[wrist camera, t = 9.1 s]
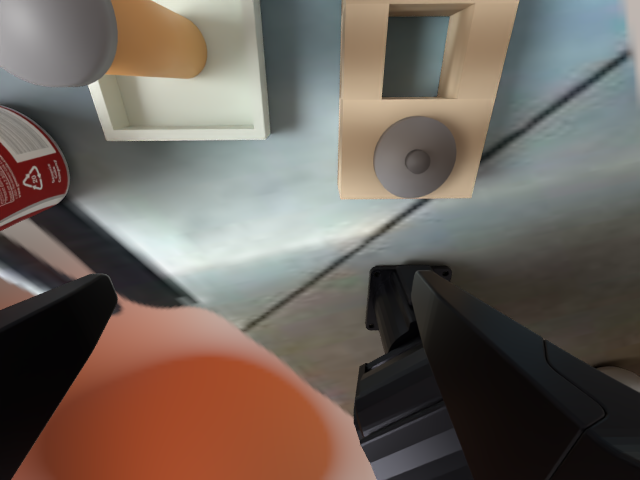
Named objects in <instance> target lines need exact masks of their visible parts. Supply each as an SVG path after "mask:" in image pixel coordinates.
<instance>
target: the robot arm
mask: <svg viewBox="0 0 640 480" xmlns="http://www.w3.org/2000/svg"><path fill="white" fill-rule="evenodd" d="M445 271H447V272H446V273H444V274H443V272H445ZM375 272H379V273H378V274H374V273H375ZM451 275H452V271H451V270H450V268H449V267H448V266H429V265H401V266H389V267H373V268H372V269H371V270H370V275H369V287H368V299H367V310H366V322H365V324H366V328H367V329H368V330H379V332H380V336H381V340H382V344H383V348H384V352H385V355H383V356H381V357H379V358H377V359H376V360H374V361H372V362H370V363H368V364H367V363H365V364H363V365H361V366H360V368H359V375H358V382H357V389H356V397H355V402H354V425H355V427H356V431H357V434H358V437H359V440H360V445H361V446H362V448H363V450H364V452H365V454H366V456H367V458H368V460H369V462H370V464H371V466H372V469H373V471H374V474H375V476H376V479H377V480H640V392H638V391H636V390H634V389H632V388H631V387H629V386H627V385H625V384H623V383H621V382H619V381H617V380H616V379H614V378H612V377H610V376H608V375H606V374H605V373H603V372H601V371H599V370H597V369H595V368H594V367H592V366H590V365H588V364H586V363H585V362H583V361H581V360H580V359H578V358H576V357H574V356H573V355H571V354H569V353H567V352H566V351H564V350H562V349H561V348H559V347H557V346H556V345H554V344H552V343H551V342H549V341H547V340H543V338H542V337H541V336H539V335H537V334H536V333H534V332H532V331H531V330H529V329H527V328H526V327H524V326H522V325H521V324H519V323H517V322H516V321H514V320H512V319H511V318H509V317H507V316H506V315H504V314H502V313H501V312H499V311H497V310H496V309H494V308H492V307H491V306H489V305H487V304H486V303H484V302H482V301H481V300H479V299H477V298H476V297H474V296H472V295H471V294H469V293H467V292H466V291H464V290H462V289H461V288H459V287H457V286H456V285H454V284H452V283H451V282H450V279H451ZM117 300H118V298H117V294H116V292H115V289H114V287H113V284H112V282H111V279H110V277H109V276H108V275H106V274H89V275H87V276H84V277H82V278H79V279H77V280H74V281H72V282H69V283H67V284H64V285H62V286H59V287H57V288H54V289H52V290H49V291H47V292H44V293H42V294H39V295H37V296H34V297H32V298H30V299H27V300H24V301H22V302H20V303H17V304H15V305H12V306H9V307H7V308H5V309H2V310H0V480H11V479H12V477H13V476H14V474H15V473H16V471H17V469H18V468H19V466H20V465H21V463H22V462H23V460H24V459H25V457H26V455H27V454H28V452H29V451H30V449H31V448H32V446H33V445H34V443H35V441H36V440H37V438H38V437H39V435H40V433H41V432H42V430H43V429H44V427H45V426H46V424H47V423H48V421H49V419H50V418H51V416H52V415H53V413H54V411H55V410H56V408H57V407H58V405H59V403H60V402H61V401H62V399H63V397H64V396H65V394H66V393H67V391H68V390H69V388H70V386H71V385H72V383H73V382H74V380H75V379H76V377H77V375H78V374H79V372H80V371H81V369H82V368H83V366H84V364H85V363H86V361H87V360H88V358H89V356H90V355H91V353H92V351H93V350H94V348H95V346H96V344H97V342H98V340H99V338H100V336H101V334H102V332H103V330H104V328H105V326H106V324H107V323H108V320H109V319H110V317H111V315H112V313H113V311H114V309H115V307H116V305H117ZM370 324H373V325H370Z"/></svg>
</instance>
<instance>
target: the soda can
mask: <svg viewBox="0 0 640 480" xmlns="http://www.w3.org/2000/svg"><path fill="white" fill-rule="evenodd" d="M69 185H70V173H69V168H68V164H67V162H66V159H65V157H64V155H63V153H62V151H61V149H60V148H59V146H58V145H57V143H56V142H55V141H54V139H53V138H52V137H51V136H50V135H49V134H48V133H47V132H46V131H45V130H44V129H43V128H42V127H41V126H40V125H38V124H37V123H36V122H35V121H33V120H32V119H30V118H29V117H27V116H26V115H24V114H22V113H20V112H18V111H16V110H14V109H11V108H9V107H5V106H2V105H0V231H1V230H4V229H6V228H8V227H10V226H12V225H14V224H16V223H18V222H21V221H23V220H25V219H27V218H29V217H31V216H34V215H36V214H38V213H40V212H42V211H44V210H46V209H49V208H51V207H53V206H55V205H56V204H58V203H59V202H61V201H62V199H63V198H64V197H65V196H66V194H67V192H68V189H69Z"/></svg>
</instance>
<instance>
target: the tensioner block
mask: <svg viewBox="0 0 640 480" xmlns="http://www.w3.org/2000/svg"><path fill="white" fill-rule="evenodd" d="M518 4H519V0H342V6H341V52H340V98H339V144H338V189H339V194H340V198H341V199H424V198H471V197H472V192H473V188H474V184H475V180H476V176H477V172H478V168H479V164H480V160H481V156H482V151H483V147H484V143H485V139H486V135H487V131H488V127H489V123H490V119H491V115H492V111H493V106H494V102H495V98H496V94H497V90H498V86H499V82H500V78H501V74H502V70H503V65H504V61H505V57H506V53H507V49H508V45H509V41H510V37H511V33H512V29H513V24H514V20H515V16H516V12H517V8H518ZM423 16H450V19H449V25H448V31H447V37H446V44H445V50H444V56H443V62H442V68H441V75H440V81H439V87H438V93H437V97H382V87H383V75H384V63H385V50H386V38H387V26H388V17H423Z"/></svg>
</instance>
